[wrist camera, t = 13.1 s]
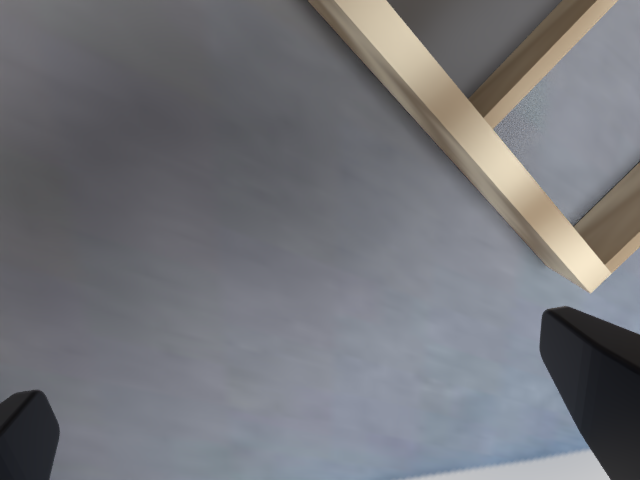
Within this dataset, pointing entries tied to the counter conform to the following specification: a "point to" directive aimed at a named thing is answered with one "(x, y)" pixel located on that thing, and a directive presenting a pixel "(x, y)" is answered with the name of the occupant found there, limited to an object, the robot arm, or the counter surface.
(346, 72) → the counter surface
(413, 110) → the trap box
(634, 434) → the robot arm
